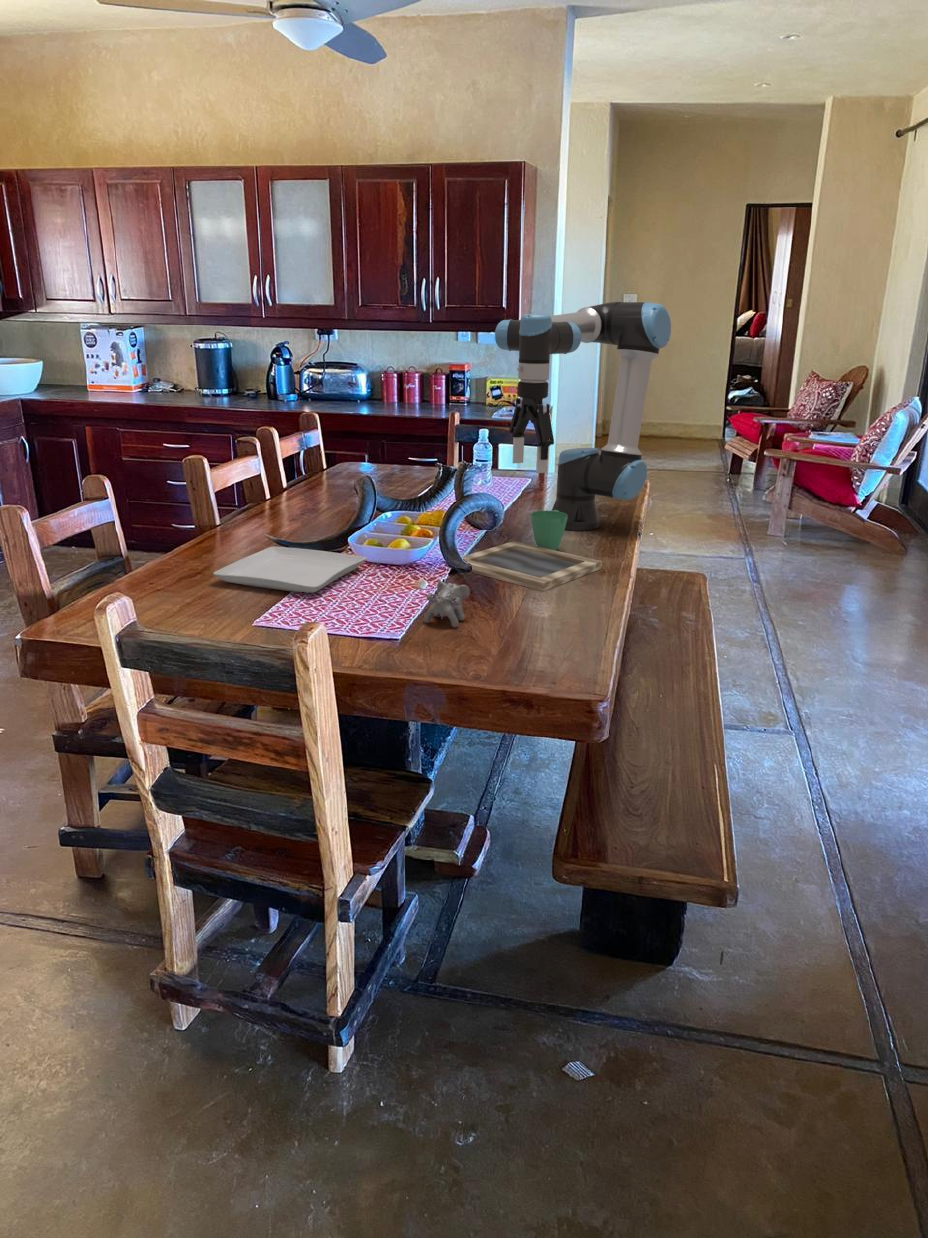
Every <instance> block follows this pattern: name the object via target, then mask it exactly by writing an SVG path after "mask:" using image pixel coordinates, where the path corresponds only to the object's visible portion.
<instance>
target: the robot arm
mask: <svg viewBox="0 0 928 1238" xmlns="http://www.w3.org/2000/svg"><path fill="white" fill-rule="evenodd" d="M671 322H672V321H671V317H670V315H669V312H668V310H667V309H666V307H665V306H664V305H663V304H660V303H656V302H650V301H649V302H648V301H644V302H641V301H640V302H637V301H634V302H633V301H631V302H630V301H629V302H628V301H626V302H625V301H611V302H604V303H600V304H595V305H591V306H586V307H585V306H584V307H581V308H580V309H578V310H577V311H576V312H569V313H562V314H556V315H555V314H554V315H550V314H543V313H525V314H522V315H521V316H520V319H516V320H515V319H503V320H501V321H500V322H498V324H497V325H496V327H495V331H494V342H495V343H496V345H497V347H498V348H500V350H502V351H503V350H504V351H509V352H512V351H513V352H515V351H516V352H518V367H517V368H516V369H517V372H518V374H517V375H518V376H517V377H518V379H519V381H518V382H517V393H516V395H517V398H515V405H514V406H515V407H514V410H513V411H514V412H513V414H512V417H511V422H510V426H509V429H508V430H509V431H508V432H509V434H511V435H512V437H513V441H512V443H513V444H512V464H523V463H524V453H525V452H524V451H525V450H524V449H525V437H526V436H525V431H526V429H527V426H528V424H529V422H530V423H531V424H533V427H534V431H535V434H536V438H537V441H538V443H537V444H536V470H535V472H536V474H544V473H546V474H547V473H548V467H549V466H548V465H549V449H550V446H553V445H554V444H555V440H554V432H553V427H552V422H551V421H552V420H551V413H550V404H549V403H543V399H546V398H548V397H549V383H548V381H549V380H550V367H551V366H550V363H551V362H550V359H551V356H550V355H567V354H570V353H573V352H576V350H578V349H579V346H580V344H581V343H585V344H589V343H599V344H605V345H612V346H617V347H616V352H617V354H618V355H619V356H620V360H619V361H620V362H619V368H618V369H619V370H618V375H617V376H618V377H617V381H616V389H615V395H614V400H613V406H612V407H613V408H612V413H611V420H610V427H609V433H608V438H607V444H606V445H604V446H602V447H601V449H600V450H599V448H597V447H579V448H568V449H565V450H562V451H561V452H560V453H559V456H558V463H557V479H556V497H555V501H554V503H553V506H552V509H551V511H552V510H557V511H559V512H563V513H565V514H567V515H568V516H567V522H566V526H565V530H566V531H576V532H579V531H582V532H583V531H591V530H595V529H598V528H599V527H600V518H599V517H600V516H599V513H598V509H597V505H596V496H602V497H607V498H612V499H614V500H624V501H625V500H626V501H629V500H633V499H634V498H636V497H637V496H638V495H639V493H641V492H642V489H644V486H645V483H646V480H647V477H648V469H647V464H646V463H645V462H644V461H643V460H642V456H643V453H642V452H641V451H640V449H639V447H638V446H639V441H640V435H641V427H642V422H643V416H644V410H645V406H646V398H647V394H648V393H647V392H648V386H649V380H650V374H651V369H652V368H651V367H652V362H653V361H654V360H655V359H656V358H657V357H658V356H659V353H660V349H663V348H665V347H666V346H667V345H668V342H669V341H670V339H671V333H672V324H671ZM565 530H564V531H565Z"/></svg>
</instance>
